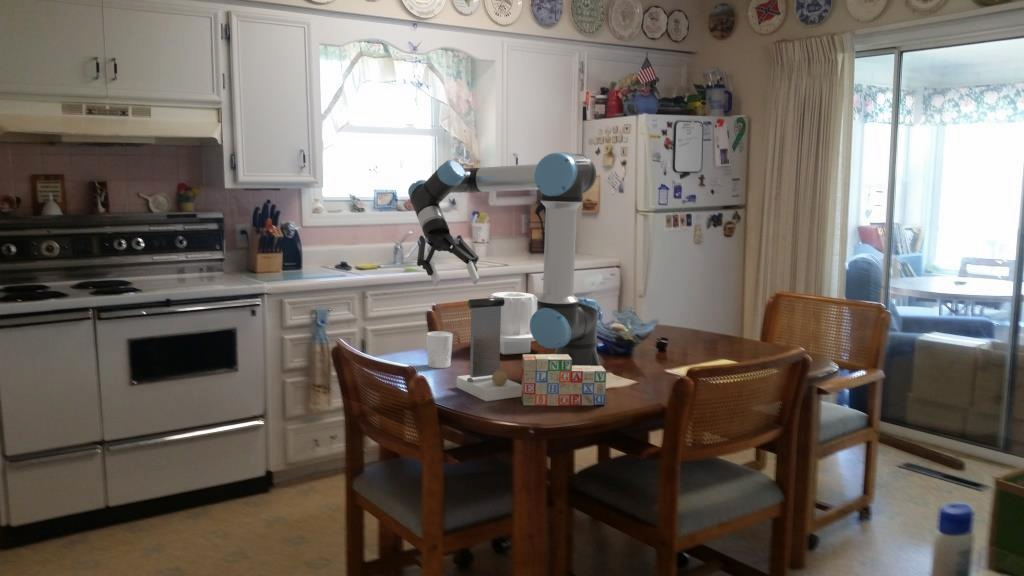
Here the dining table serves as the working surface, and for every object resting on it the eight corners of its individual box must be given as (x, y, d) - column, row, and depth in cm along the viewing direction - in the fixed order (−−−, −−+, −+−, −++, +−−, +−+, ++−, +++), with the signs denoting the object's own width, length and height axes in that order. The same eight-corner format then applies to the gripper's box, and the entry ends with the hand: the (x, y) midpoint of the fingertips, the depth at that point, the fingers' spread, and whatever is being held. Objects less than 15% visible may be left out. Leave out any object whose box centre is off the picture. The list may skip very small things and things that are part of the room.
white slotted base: (456, 387, 227) (457, 362, 226) (490, 382, 232) (491, 358, 232) (486, 401, 213) (486, 374, 212) (521, 396, 219) (522, 370, 218)
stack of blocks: (601, 399, 218) (603, 354, 217) (605, 406, 212) (607, 359, 210) (520, 399, 217) (522, 353, 215) (522, 405, 211) (524, 358, 209)
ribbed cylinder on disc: (528, 341, 292) (530, 288, 290) (561, 355, 270) (563, 298, 267) (463, 345, 282) (464, 291, 280) (491, 361, 260) (493, 301, 257)
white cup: (448, 369, 247) (448, 337, 245) (422, 367, 248) (423, 335, 247) (455, 364, 254) (455, 332, 253) (430, 362, 256) (431, 330, 254)
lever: (466, 376, 223) (468, 298, 220) (498, 372, 228) (500, 296, 225) (470, 378, 221) (472, 300, 218) (502, 374, 226) (504, 298, 223)
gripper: (464, 232, 255) (488, 288, 244) (392, 233, 242) (414, 292, 231) (473, 216, 249) (498, 272, 239) (400, 216, 236) (423, 275, 226)
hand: (457, 282), depth 235 cm, fingers open, 12 cm apart
